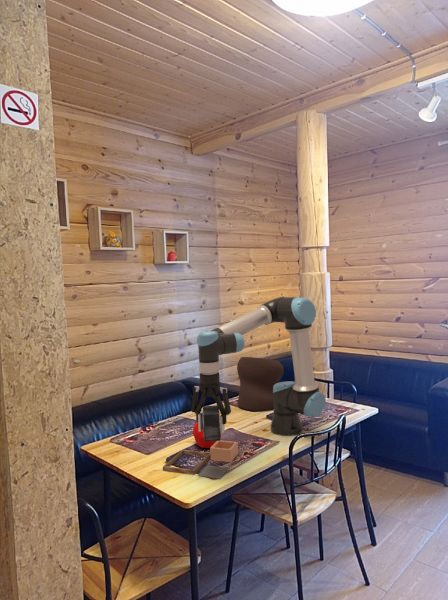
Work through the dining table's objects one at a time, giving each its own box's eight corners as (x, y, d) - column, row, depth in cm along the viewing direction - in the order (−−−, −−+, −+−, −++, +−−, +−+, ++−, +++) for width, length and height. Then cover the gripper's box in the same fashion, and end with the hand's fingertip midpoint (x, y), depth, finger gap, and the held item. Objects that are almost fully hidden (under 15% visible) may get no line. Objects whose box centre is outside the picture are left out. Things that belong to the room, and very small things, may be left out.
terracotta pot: (238, 453, 187) (237, 442, 186) (231, 462, 178) (230, 450, 178) (218, 451, 190) (217, 440, 189) (210, 459, 181) (210, 447, 181)
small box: (203, 431, 174) (202, 405, 173) (219, 431, 174) (218, 404, 174) (203, 441, 163) (202, 413, 163) (221, 440, 164) (220, 413, 163)
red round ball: (216, 456, 192) (206, 446, 204) (230, 430, 194) (219, 421, 206) (192, 445, 188) (183, 435, 200) (206, 417, 190) (197, 410, 202)
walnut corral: (211, 456, 185) (211, 453, 185) (194, 474, 168) (194, 471, 168) (182, 453, 189) (182, 449, 189) (162, 470, 173) (162, 466, 173)
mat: (228, 468, 172) (228, 467, 172) (220, 479, 164) (220, 478, 164) (207, 466, 175) (207, 465, 175) (197, 476, 167) (197, 475, 167)
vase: (287, 411, 241) (285, 356, 240) (238, 412, 242) (236, 358, 240) (281, 397, 268) (280, 348, 266) (237, 399, 268) (235, 350, 267)
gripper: (238, 371, 167) (240, 430, 168) (188, 369, 175) (190, 425, 176) (232, 375, 160) (234, 437, 161) (180, 373, 168) (182, 432, 169)
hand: (211, 431), depth 169 cm, fingers closed on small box, 8 cm apart
